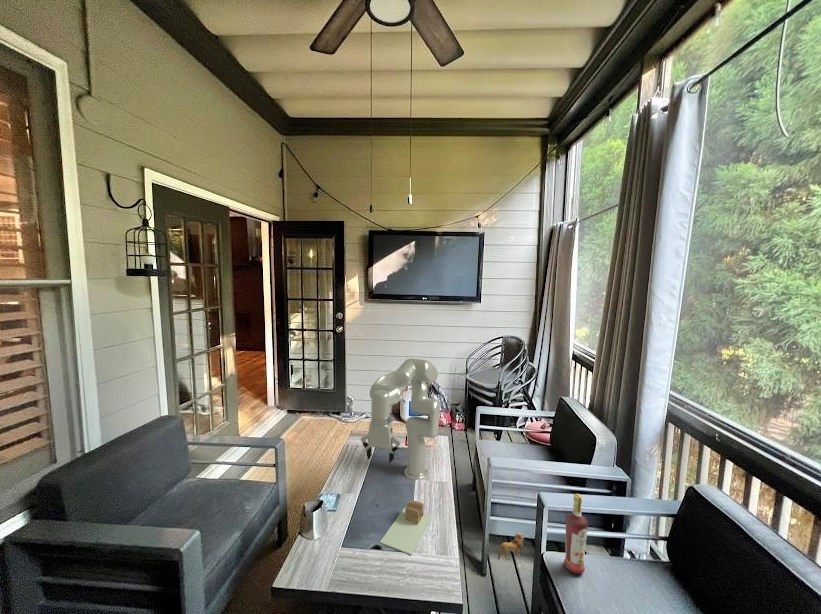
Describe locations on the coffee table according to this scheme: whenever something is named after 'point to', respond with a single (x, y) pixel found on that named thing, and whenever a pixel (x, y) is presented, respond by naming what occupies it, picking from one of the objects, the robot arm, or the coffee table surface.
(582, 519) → the liquor
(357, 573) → the coffee table surface
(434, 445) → the coffee table surface
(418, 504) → the walnut cube
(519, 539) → the lion figurine
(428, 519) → the rubber mat
